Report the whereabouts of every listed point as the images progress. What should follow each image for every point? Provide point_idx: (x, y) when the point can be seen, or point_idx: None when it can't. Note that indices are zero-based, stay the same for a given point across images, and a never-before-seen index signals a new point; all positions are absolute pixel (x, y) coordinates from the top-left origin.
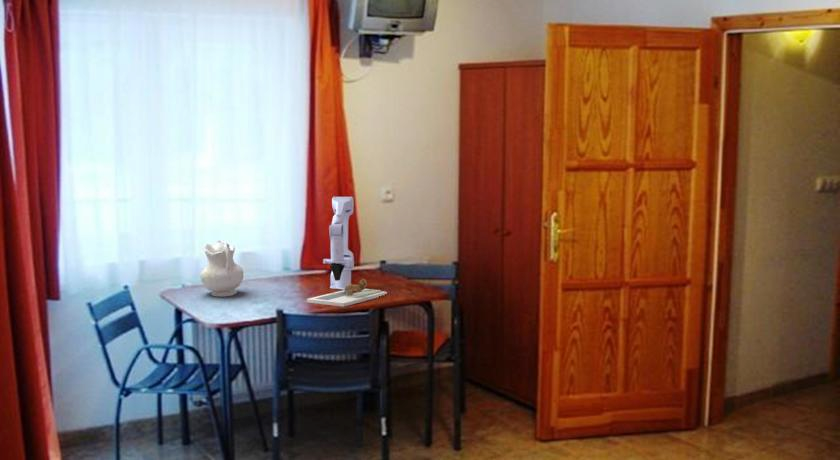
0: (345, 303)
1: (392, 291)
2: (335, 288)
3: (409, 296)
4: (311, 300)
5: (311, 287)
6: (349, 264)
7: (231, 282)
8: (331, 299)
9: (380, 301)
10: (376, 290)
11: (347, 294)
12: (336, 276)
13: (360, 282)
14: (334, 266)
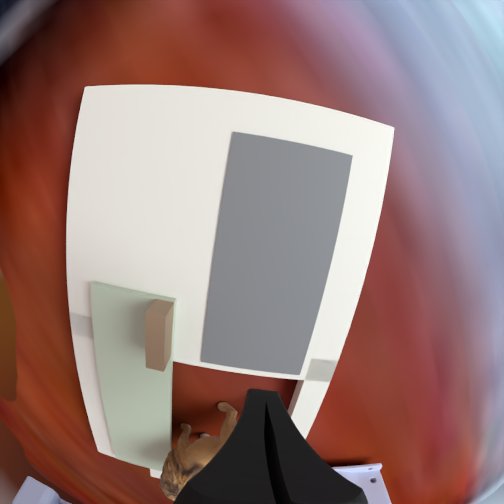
0: (83, 107)
1: (139, 489)
2: (353, 466)
3: (35, 422)
4: (354, 117)
5: (448, 454)
6: (25, 489)
7: None
8: (216, 165)
9: (27, 313)
10: (129, 456)
11: (154, 302)
12: (252, 412)
13: (178, 478)
14: (262, 500)
